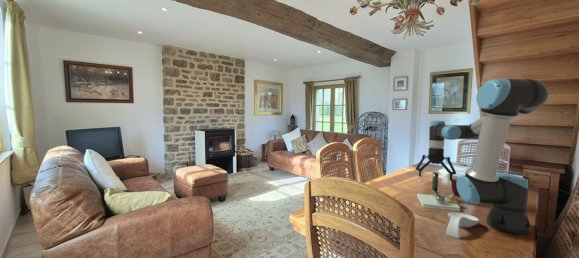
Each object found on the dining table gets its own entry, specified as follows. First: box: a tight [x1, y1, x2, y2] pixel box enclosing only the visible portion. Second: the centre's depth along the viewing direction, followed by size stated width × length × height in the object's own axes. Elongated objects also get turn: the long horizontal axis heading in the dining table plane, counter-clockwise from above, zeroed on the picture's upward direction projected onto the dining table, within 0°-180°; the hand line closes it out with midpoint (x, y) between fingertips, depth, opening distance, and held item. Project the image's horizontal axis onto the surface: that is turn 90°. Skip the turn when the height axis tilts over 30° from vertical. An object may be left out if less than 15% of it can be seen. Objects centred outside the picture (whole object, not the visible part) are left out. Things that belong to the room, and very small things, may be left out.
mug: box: [450, 177, 461, 197], centre depth 154 cm, size 11×8×10 cm
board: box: [416, 193, 461, 213], centre depth 140 cm, size 18×17×6 cm
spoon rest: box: [445, 211, 480, 239], centre depth 110 cm, size 24×12×7 cm, turn 135°
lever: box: [431, 171, 445, 201], centre depth 140 cm, size 16×4×12 cm, turn 161°
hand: (434, 184), depth 146 cm, fingers open, 13 cm apart
